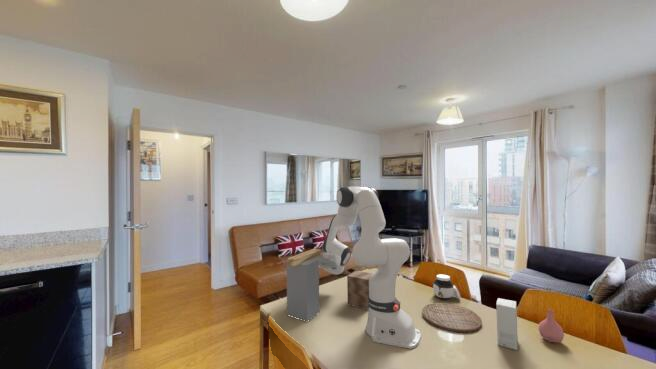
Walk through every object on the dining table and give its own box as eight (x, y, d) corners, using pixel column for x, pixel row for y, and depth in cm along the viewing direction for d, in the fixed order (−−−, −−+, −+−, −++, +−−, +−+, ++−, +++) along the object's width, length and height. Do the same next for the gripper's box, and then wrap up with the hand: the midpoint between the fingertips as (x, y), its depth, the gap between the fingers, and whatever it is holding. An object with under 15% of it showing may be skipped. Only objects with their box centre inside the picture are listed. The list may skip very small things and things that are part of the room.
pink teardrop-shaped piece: (554, 348, 98) (554, 316, 98) (533, 337, 105) (533, 307, 105) (569, 344, 100) (568, 313, 100) (547, 333, 107) (547, 304, 107)
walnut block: (376, 302, 138) (375, 274, 138) (369, 309, 130) (368, 279, 130) (355, 297, 144) (355, 270, 145) (347, 304, 136) (347, 275, 136)
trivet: (491, 336, 106) (491, 332, 106) (427, 330, 111) (426, 326, 111) (470, 308, 131) (470, 305, 131) (418, 304, 136) (418, 301, 136)
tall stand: (319, 313, 127) (318, 259, 127) (307, 322, 118) (306, 265, 119) (299, 307, 133) (299, 256, 133) (287, 315, 125) (286, 261, 125)
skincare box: (517, 351, 96) (516, 309, 96) (496, 344, 100) (495, 304, 100) (517, 340, 103) (517, 301, 103) (498, 334, 107) (497, 296, 107)
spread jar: (431, 295, 146) (430, 274, 147) (445, 291, 151) (445, 271, 151) (449, 303, 136) (448, 281, 136) (464, 299, 140) (463, 278, 140)
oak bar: (320, 255, 136) (320, 249, 136) (294, 266, 117) (294, 259, 117) (314, 254, 138) (314, 248, 138) (287, 264, 119) (287, 258, 119)
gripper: (312, 253, 152) (300, 245, 142) (343, 257, 141) (332, 249, 131) (309, 264, 149) (296, 256, 139) (341, 269, 139) (329, 262, 128)
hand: (314, 253), depth 135 cm, fingers open, 8 cm apart
